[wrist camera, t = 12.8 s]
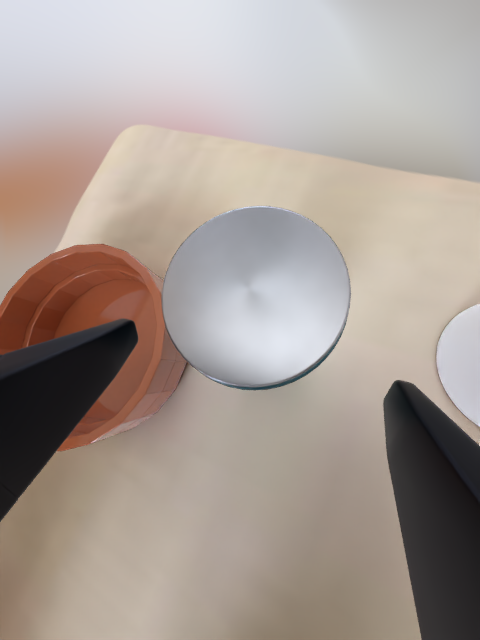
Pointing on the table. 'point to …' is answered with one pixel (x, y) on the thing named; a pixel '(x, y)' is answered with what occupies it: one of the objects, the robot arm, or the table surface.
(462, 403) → the mug
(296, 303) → the can
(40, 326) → the pot
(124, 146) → the table surface
